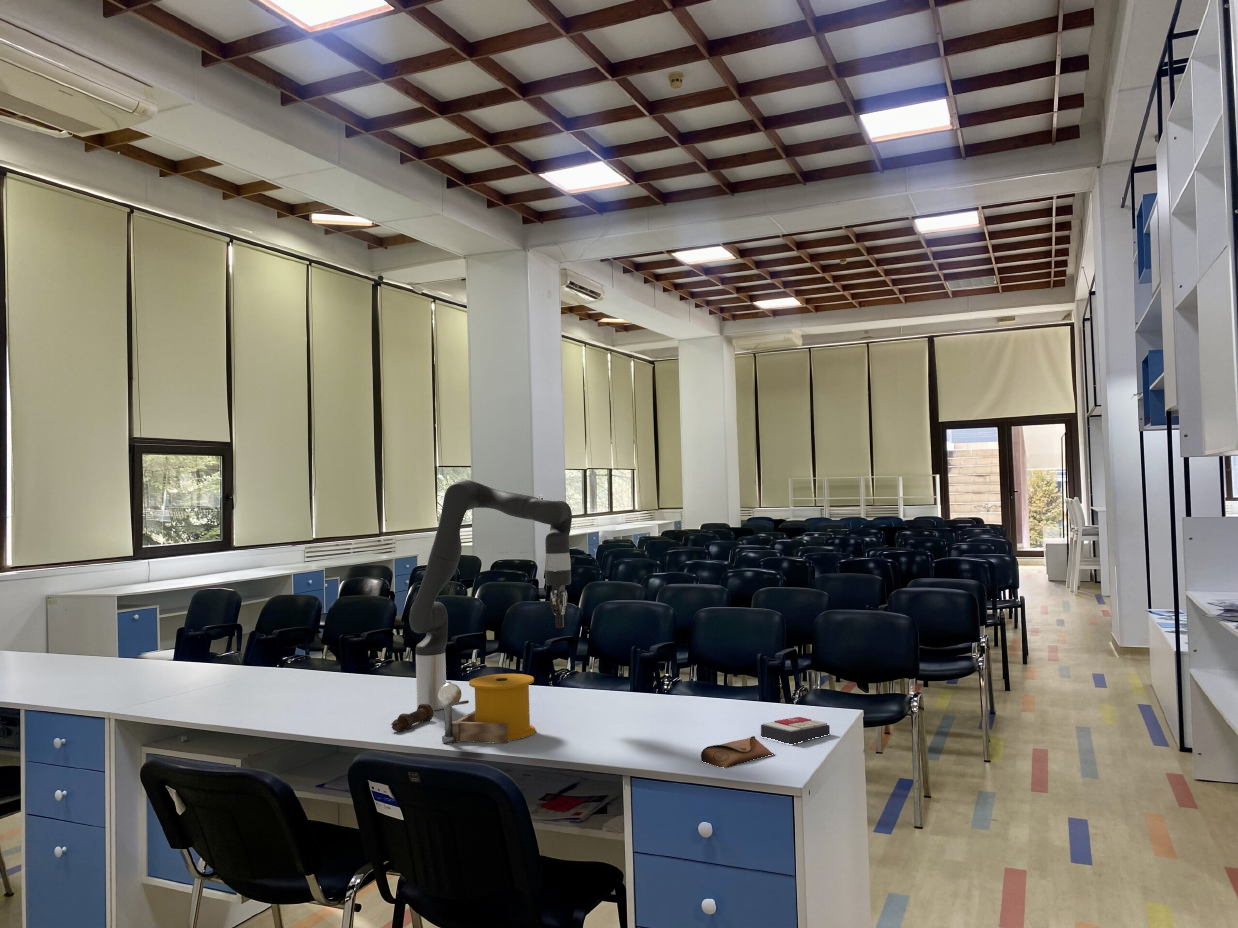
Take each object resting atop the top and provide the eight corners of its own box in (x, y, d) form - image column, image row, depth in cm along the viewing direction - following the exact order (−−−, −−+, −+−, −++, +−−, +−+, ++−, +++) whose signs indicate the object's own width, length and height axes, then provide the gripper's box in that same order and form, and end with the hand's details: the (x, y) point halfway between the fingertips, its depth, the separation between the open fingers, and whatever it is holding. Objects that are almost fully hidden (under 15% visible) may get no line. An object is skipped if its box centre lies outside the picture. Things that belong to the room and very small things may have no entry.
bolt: (393, 739, 254) (424, 724, 268) (405, 731, 252) (436, 717, 266) (384, 720, 255) (416, 707, 269) (396, 712, 253) (427, 699, 267)
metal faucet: (441, 745, 238) (439, 685, 238) (436, 742, 241) (434, 682, 242) (472, 740, 242) (471, 680, 243) (467, 737, 246) (465, 678, 247)
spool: (482, 724, 259) (480, 672, 260) (542, 725, 257) (540, 672, 257) (461, 741, 242) (459, 685, 242) (525, 742, 239) (524, 685, 240)
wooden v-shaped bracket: (464, 750, 232) (463, 731, 232) (437, 733, 251) (437, 715, 251) (508, 742, 238) (508, 723, 239) (479, 726, 257) (479, 709, 257)
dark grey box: (830, 722, 236) (791, 729, 227) (830, 738, 236) (791, 746, 227) (799, 715, 245) (760, 721, 236) (799, 731, 245) (760, 738, 236)
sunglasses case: (724, 768, 209) (713, 741, 212) (707, 778, 214) (697, 751, 217) (778, 754, 219) (767, 728, 222) (761, 763, 224) (750, 738, 227)
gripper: (551, 567, 271) (552, 624, 270) (539, 570, 258) (541, 630, 257) (575, 566, 269) (577, 624, 269) (565, 570, 256) (566, 630, 256)
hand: (559, 627), depth 263 cm, fingers closed
